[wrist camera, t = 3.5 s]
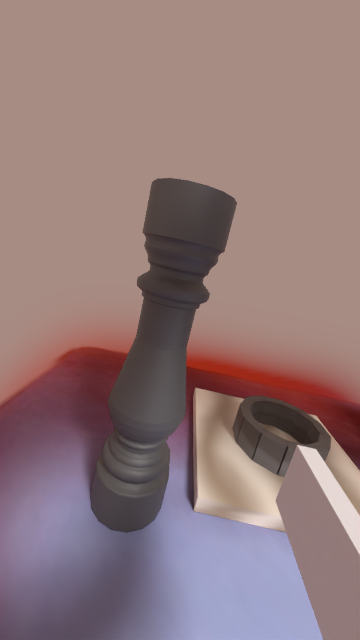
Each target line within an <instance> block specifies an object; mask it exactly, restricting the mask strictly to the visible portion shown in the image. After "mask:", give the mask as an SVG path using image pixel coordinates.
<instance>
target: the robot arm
mask: <svg viewBox="0 0 360 640" xmlns="http://www.w3.org/2000/svg"><path fill="white" fill-rule="evenodd" d="M275 501H276V504H277V507H278V509H279V512H280V515H281V518H282V521H283V524H284V527H285V530H286V533H287V536H288V538H289V541H290V544H291V547H292V550H293V553H294V556H295V559H296V562H297V564H298V567H299V570H300V573H301V576H302V579H303V582H304V585H305V588H306V591H307V593H308V596H309V599H310V602H311V605H312V608H313V611H314V614H315V617H316V620H317V622H318V625H319V628H320V631H321V634H322V637H323V640H360V515H359V514H358V512H357V511H356V509H355V508H354V506H353V505H352V503H351V502H350V500H349V499H348V497H347V496H346V494H345V493H344V491H343V489H342V488H341V486H340V485H339V483H338V482H337V480H336V479H335V477H334V476H333V474H332V473H331V471H330V470H329V468H328V467H327V465H326V463H325V462H324V460H323V459H322V457H321V456H320V454H319V453H318V451H317V450H316V449H313V448H309V447H305V446H300V445H297V447H296V449H295V452H294V454H293V457H292V459H291V462H290V465H289V467H288V470H287V472H286V475H285V477H284V480H283V482H282V485H281V488H280V490H279V493H278V495H277V498H276V500H275Z"/></svg>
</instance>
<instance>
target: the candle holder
mask: <svg viewBox="0 0 360 640" xmlns="http://www.w3.org/2000/svg"><path fill="white" fill-rule="evenodd" d="M236 205H237V202H236V201H235V199H234V198H233V197H231V196H230V195H228V194H226V193H225V192H223V191H220V190H218V189H215V188H212V187H209V186H207V185H203V184H199V183H195V182H191V181H187V180H180V179H172V178H163V179H156V180H154V181H153V182H152V185H151V190H150V196H149V201H148V207H147V212H146V218H145V223H144V228H143V233H144V234H145V236H146V242H145V249H146V251H147V253H148V261H149V263H150V270H149V271H148V272H147V273H144V274H142V275H141V276H139V277H138V279H137V286H138V287H139V288H140V289H141V290H142V296H143V297H144V300H143V305H142V310H141V315H140V320H139V325H138V331H137V335H136V338H135V340H134V343H133V345H132V347H131V349H130V351H129V353H128V356H127V358H126V360H125V362H124V364H123V367H122V369H121V371H120V373H119V375H118V377H117V380H116V382H115V384H114V386H113V388H112V390H111V393H110V395H109V400H108V406H109V412H110V416H111V419H112V422H113V424H114V429H115V431H114V432H113V433H112V434H111V435H110V436H109V437H108V438H107V439H106V441H105V443H104V446H103V448H102V452H101V454H100V456H99V458H98V461H97V463H96V468H95V473H94V479H93V484H92V490H91V495H90V496H91V508H92V510H93V512H94V514H95V516H96V517H97V519H98V521H99V522H101V523H102V524H104V525H105V526H107V527H108V528H110V529H111V530H116V531H122V532H131V531H135V530H140V529H143V528H144V527H145V526H147V525H148V524H150V523H151V522H152V521H154V519H155V517H156V516H157V514H158V512H159V510H160V508H161V505H162V501H163V497H164V493H165V490H166V486H167V482H168V478H169V463H170V449H169V447H168V445H167V443H166V440H167V439H168V436H170V435H171V434H172V433H173V432H174V431H175V430H176V429H177V427H178V426H179V425H180V423H181V422H182V420H183V418H184V416H185V412H186V347H187V343H188V339H189V335H190V331H191V327H192V323H193V319H194V315H195V311H196V309H198V308H199V306H200V304H201V303H204V302H206V301H207V300H208V299H209V295H210V294H209V292H208V290H207V289H206V287H205V286H204V285H203V283H202V282H203V278H204V277H205V276H206V275H208V273H209V271H210V269H211V268H212V267H213V266H215V265H216V263H217V262H218V256H219V255H220V254H221V253H223V252H224V251H225V247H226V243H227V239H228V236H229V232H230V228H231V224H232V220H233V216H234V212H235V208H236Z"/></svg>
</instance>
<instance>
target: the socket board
mask: <svg viewBox="0 0 360 640" xmlns="http://www.w3.org/2000/svg"><path fill="white" fill-rule="evenodd" d="M297 445H300V446H305V447H309V448H313V449H316V450H317V451H318V453H319V454H320V456H321V457H322V459H323V460H324V462H325V463H326V465H327V467H328V468H329V470H330V471H331V473H332V474H333V476H334V477H335V479H336V480H337V482H338V483H339V485H340V486H341V488H342V489H343V491H344V493H345V494H346V496H347V497H348V499H349V500H350V502H351V503H352V505H353V506H354V508H355V509H356V511H357V512H358V514H359V515H360V471H359V469H358V468H357V467H356V466H355V464H354V463H353V462H352V461H351V459H350V458H349V457H348V455H347V454H346V453H345V452H344V450H343V449H342V448H341V447H340V445H339V444H338V443H337V442H336V440H335V439H334V438H333V437H332V435H331V434H330V433H329V431H328V430H327V429H326V428H325V426H324V425H323V424H322V423H321V421H320V420H319V419H318V418H317V416H315V415H311V414H307V413H306V412H304V411H303V410H301V409H299V408H297V407H295V406H292V405H290V404H288V403H286V402H284V401H280V400H278V399H274V398H269V397H265V396H251V397H246V398H245V399H242V398H238V397H234V396H229V395H225V394H221V393H216V392H212V391H208V390H204V389H199V388H195V391H194V395H193V460H194V511H196V512H200V513H204V514H209V515H213V516H217V517H222V518H226V519H230V520H235V521H239V522H243V523H248V524H252V525H256V526H261V527H265V528H269V529H274V530H278V531H282V532H286V530H285V527H284V524H283V521H282V518H281V515H280V512H279V509H278V507H277V504H276V501H275V500H276V498H277V495H278V493H279V490H280V488H281V485H282V482H283V480H284V477H285V475H286V472H287V470H288V467H289V465H290V462H291V459H292V457H293V454H294V452H295V449H296V447H297Z"/></svg>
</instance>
